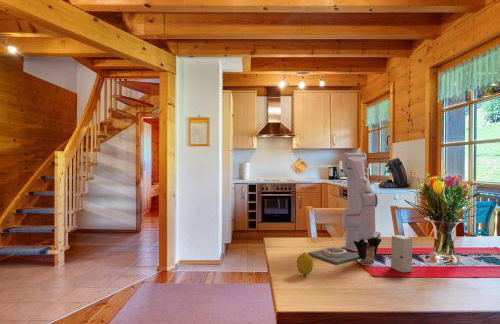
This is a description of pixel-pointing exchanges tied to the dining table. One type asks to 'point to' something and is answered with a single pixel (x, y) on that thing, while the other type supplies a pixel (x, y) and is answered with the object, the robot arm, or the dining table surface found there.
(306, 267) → the lemon
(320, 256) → the collar board
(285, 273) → the dining table surface
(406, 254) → the skincare box
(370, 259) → the cup
